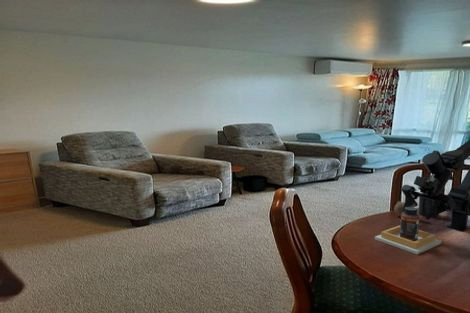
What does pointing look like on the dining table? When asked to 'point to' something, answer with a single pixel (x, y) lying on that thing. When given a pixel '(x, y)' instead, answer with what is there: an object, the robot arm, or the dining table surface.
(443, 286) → the dining table surface
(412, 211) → the supplement bottle
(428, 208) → the supplement bottle
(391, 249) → the dining table surface
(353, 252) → the dining table surface
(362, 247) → the dining table surface
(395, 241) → the plate
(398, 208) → the oil lamp
